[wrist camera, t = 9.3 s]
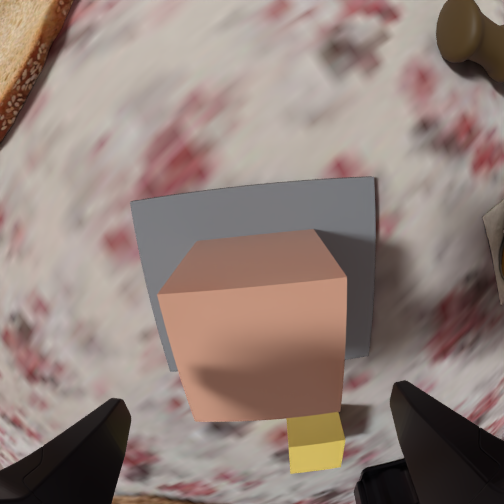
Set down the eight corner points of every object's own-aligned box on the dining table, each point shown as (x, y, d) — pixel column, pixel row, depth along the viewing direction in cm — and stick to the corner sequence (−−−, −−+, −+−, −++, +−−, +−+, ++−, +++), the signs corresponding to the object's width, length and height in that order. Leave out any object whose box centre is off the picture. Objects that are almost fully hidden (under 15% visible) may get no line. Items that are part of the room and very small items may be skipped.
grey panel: (370, 176, 16) (373, 176, 16) (366, 351, 20) (368, 355, 19) (133, 200, 17) (129, 202, 17) (171, 367, 21) (170, 371, 20)
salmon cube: (313, 228, 17) (347, 277, 10) (317, 330, 19) (340, 411, 12) (196, 241, 17) (157, 294, 10) (214, 339, 19) (195, 421, 12)
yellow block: (335, 402, 22) (345, 439, 18) (333, 432, 23) (340, 467, 19) (285, 409, 22) (288, 447, 18) (288, 438, 23) (290, 473, 19)
